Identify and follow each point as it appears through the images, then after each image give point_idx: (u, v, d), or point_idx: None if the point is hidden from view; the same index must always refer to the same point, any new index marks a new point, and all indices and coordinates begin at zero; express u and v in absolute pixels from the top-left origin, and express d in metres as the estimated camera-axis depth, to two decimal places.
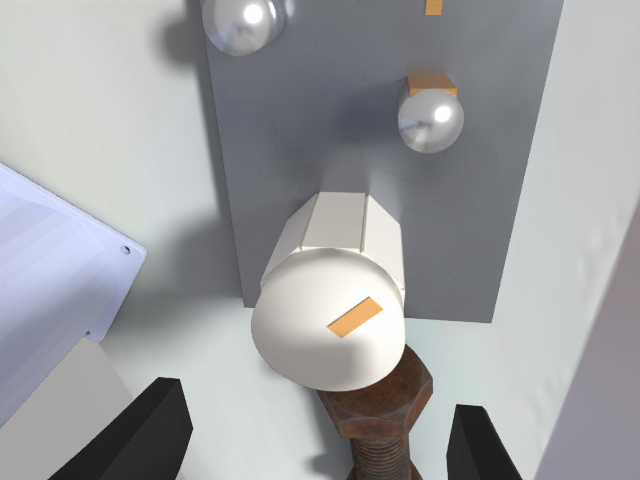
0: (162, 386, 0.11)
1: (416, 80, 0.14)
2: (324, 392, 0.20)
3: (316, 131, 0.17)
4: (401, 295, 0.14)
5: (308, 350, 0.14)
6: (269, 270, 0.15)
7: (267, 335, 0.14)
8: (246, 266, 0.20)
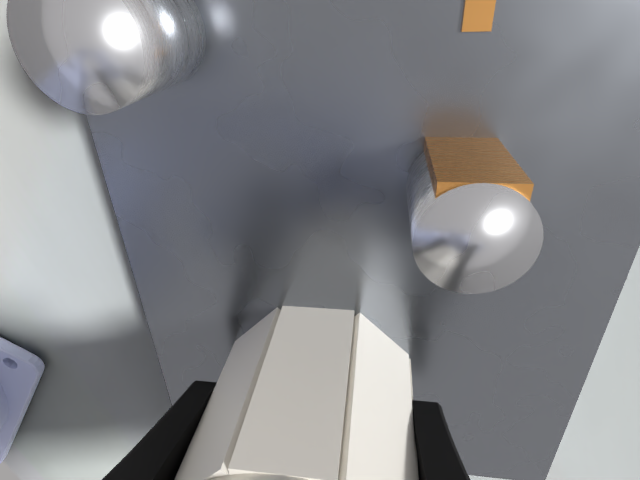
0: (200, 390, 0.11)
1: (444, 152, 0.08)
2: None
3: (271, 219, 0.10)
4: None
5: None
6: None
7: None
8: None
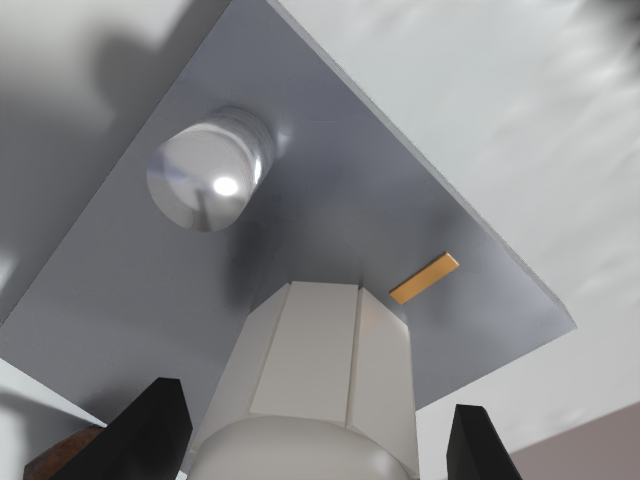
0: (161, 386, 0.11)
1: None
2: None
3: (206, 284, 0.13)
4: None
5: None
6: (202, 435, 0.09)
7: None
8: (19, 321, 0.15)
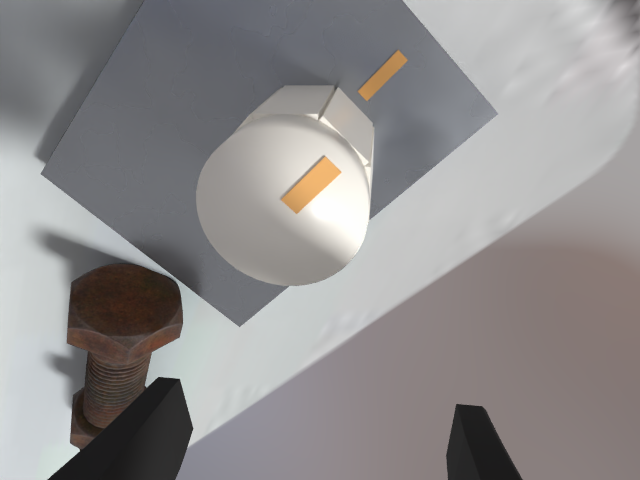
0: (161, 386, 0.11)
1: None
2: (70, 297, 0.20)
3: (219, 93, 0.17)
4: (366, 172, 0.13)
5: (261, 233, 0.13)
6: None
7: (215, 215, 0.12)
8: (70, 143, 0.19)
